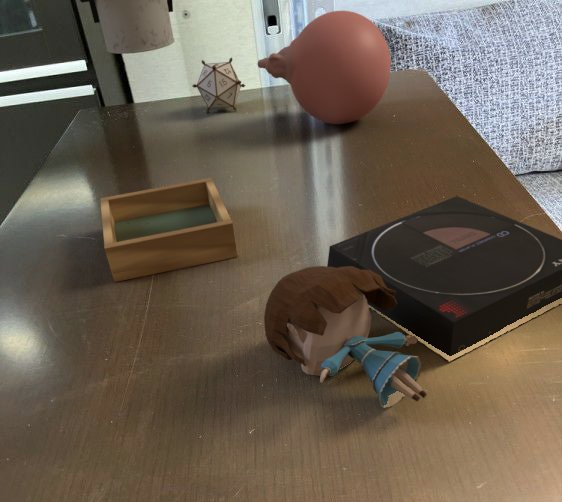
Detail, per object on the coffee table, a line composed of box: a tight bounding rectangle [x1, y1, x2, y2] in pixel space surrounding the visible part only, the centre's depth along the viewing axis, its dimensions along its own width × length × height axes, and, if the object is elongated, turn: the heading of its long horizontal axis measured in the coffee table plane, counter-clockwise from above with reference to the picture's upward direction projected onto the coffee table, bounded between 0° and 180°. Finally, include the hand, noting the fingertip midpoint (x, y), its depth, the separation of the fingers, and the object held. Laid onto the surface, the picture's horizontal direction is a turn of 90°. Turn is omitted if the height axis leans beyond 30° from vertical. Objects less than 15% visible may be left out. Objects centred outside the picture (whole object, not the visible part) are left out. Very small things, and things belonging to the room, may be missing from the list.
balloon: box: [257, 10, 392, 125], centre depth 95 cm, size 15×20×15 cm
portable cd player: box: [326, 195, 562, 356], centre depth 58 cm, size 16×17×4 cm
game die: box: [191, 57, 246, 114], centre depth 107 cm, size 9×8×10 cm
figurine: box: [263, 265, 428, 409], centre depth 48 cm, size 11×10×15 cm
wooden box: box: [99, 177, 239, 283], centre depth 71 cm, size 13×13×4 cm
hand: (131, 8), depth 87 cm, fingers closed on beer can, 10 cm apart
